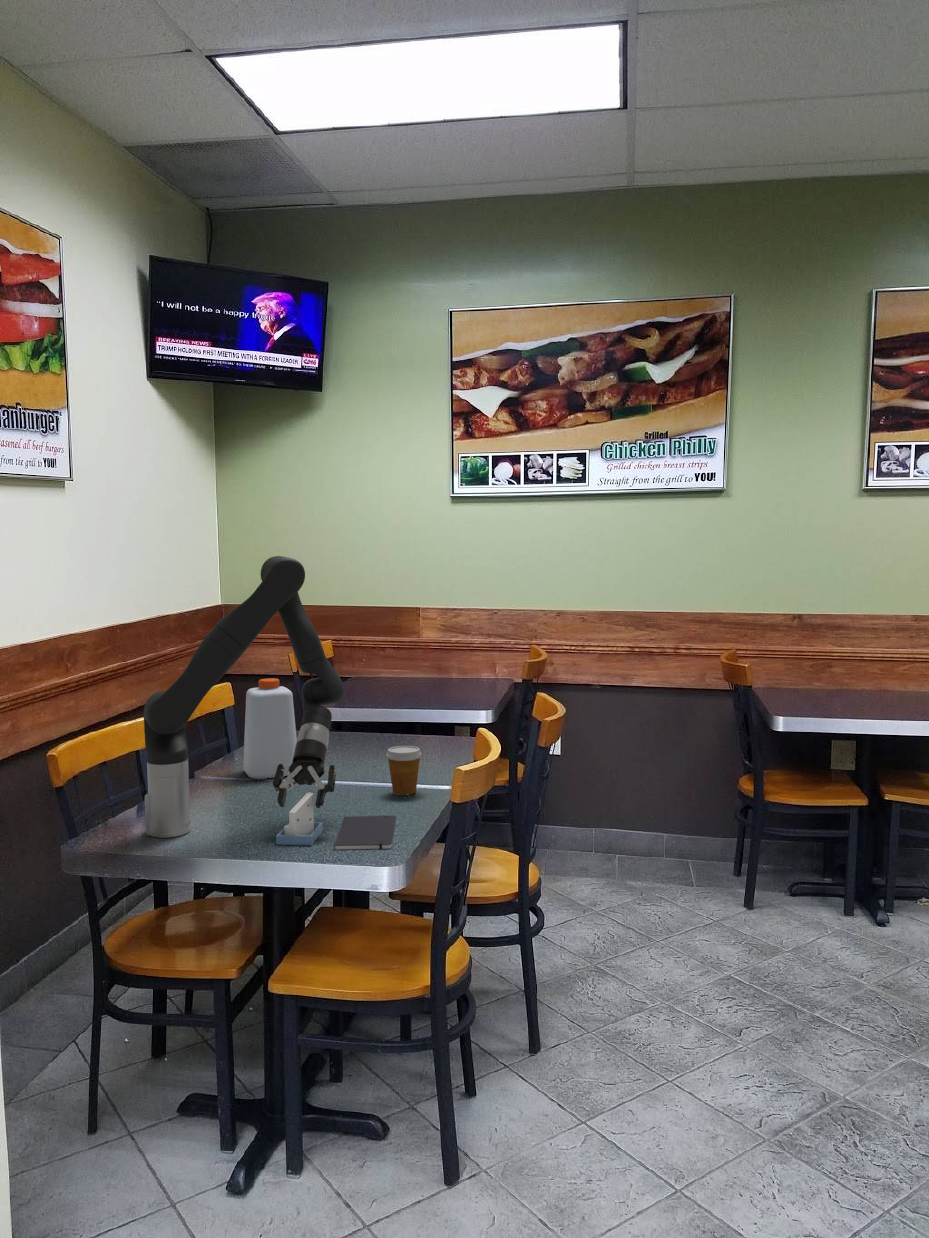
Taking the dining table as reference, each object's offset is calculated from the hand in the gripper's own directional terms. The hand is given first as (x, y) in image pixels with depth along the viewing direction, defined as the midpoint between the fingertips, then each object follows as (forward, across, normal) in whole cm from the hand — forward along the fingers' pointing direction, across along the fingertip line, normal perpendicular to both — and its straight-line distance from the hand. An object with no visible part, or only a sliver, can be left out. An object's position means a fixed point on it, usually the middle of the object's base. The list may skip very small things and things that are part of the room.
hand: (299, 806), depth 206 cm
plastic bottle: (-35, -25, +46) cm, 63 cm away
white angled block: (+6, 0, +5) cm, 8 cm away
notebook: (+3, +15, +8) cm, 17 cm away
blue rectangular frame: (+5, 0, +5) cm, 7 cm away
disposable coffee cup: (-22, +18, +32) cm, 43 cm away
